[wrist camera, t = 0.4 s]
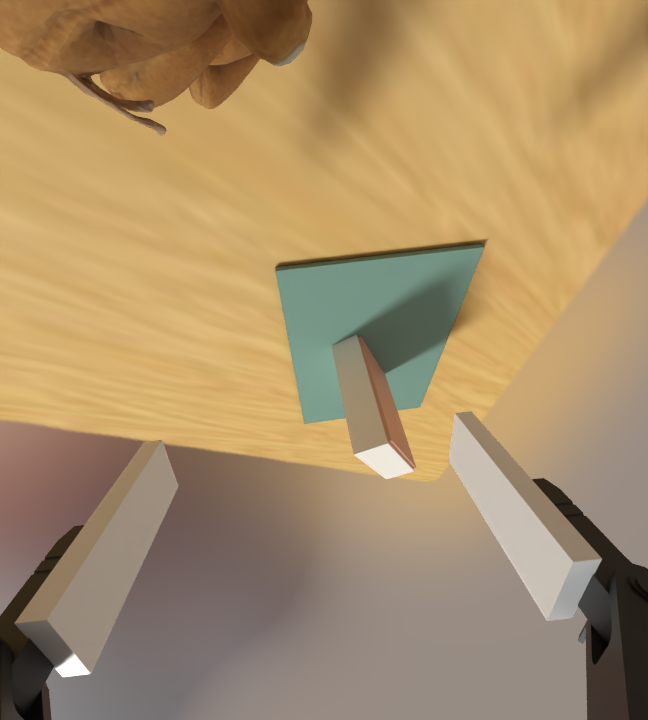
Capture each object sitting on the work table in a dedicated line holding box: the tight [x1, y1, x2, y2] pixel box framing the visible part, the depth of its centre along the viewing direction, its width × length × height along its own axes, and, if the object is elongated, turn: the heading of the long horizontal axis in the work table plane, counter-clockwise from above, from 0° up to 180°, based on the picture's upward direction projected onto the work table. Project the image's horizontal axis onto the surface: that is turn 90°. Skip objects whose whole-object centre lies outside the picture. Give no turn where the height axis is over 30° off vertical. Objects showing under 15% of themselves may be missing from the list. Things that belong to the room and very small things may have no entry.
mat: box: [275, 244, 484, 424], centre depth 32 cm, size 24×16×1 cm, turn 2°
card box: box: [331, 335, 416, 479], centre depth 29 cm, size 8×3×11 cm, turn 27°
